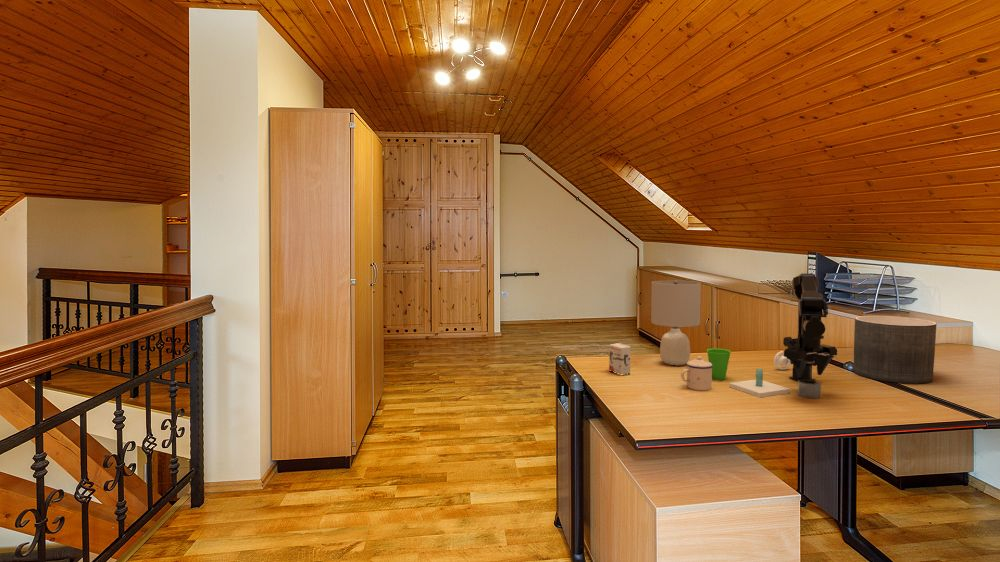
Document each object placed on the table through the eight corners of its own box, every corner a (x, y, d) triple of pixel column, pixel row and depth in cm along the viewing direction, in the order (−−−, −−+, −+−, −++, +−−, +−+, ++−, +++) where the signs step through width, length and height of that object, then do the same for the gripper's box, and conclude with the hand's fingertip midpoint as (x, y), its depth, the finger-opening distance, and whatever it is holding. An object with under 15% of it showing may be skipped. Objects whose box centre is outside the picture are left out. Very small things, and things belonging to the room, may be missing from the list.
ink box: (608, 371, 216) (608, 343, 215) (617, 370, 218) (617, 342, 218) (621, 376, 209) (621, 347, 208) (631, 374, 211) (631, 346, 210)
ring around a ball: (776, 371, 212) (777, 352, 212) (767, 368, 218) (768, 349, 217) (794, 370, 214) (794, 351, 213) (784, 367, 219) (785, 348, 219)
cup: (733, 381, 198) (733, 353, 197) (708, 380, 200) (708, 353, 199) (727, 375, 207) (728, 348, 206) (703, 374, 209) (704, 348, 208)
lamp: (654, 368, 219) (654, 282, 217) (648, 358, 239) (649, 279, 236) (704, 370, 216) (705, 282, 213) (694, 359, 236) (695, 279, 233)
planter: (943, 377, 201) (946, 321, 199) (919, 388, 186) (922, 328, 184) (867, 364, 221) (870, 313, 220) (841, 374, 207) (843, 319, 205)
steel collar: (807, 392, 183) (807, 378, 183) (824, 397, 177) (824, 383, 177) (794, 394, 181) (794, 380, 181) (810, 399, 175) (811, 385, 175)
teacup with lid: (702, 383, 197) (702, 353, 196) (717, 389, 188) (718, 358, 187) (674, 385, 194) (674, 355, 193) (688, 392, 185) (689, 360, 184)
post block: (758, 382, 196) (758, 363, 195) (790, 392, 183) (790, 372, 182) (729, 386, 191) (729, 367, 191) (759, 397, 178) (760, 376, 178)
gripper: (809, 326, 188) (808, 368, 190) (771, 330, 182) (769, 373, 183) (839, 331, 178) (837, 375, 179) (798, 335, 172) (797, 381, 173)
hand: (809, 376), depth 179 cm, fingers open, 9 cm apart
